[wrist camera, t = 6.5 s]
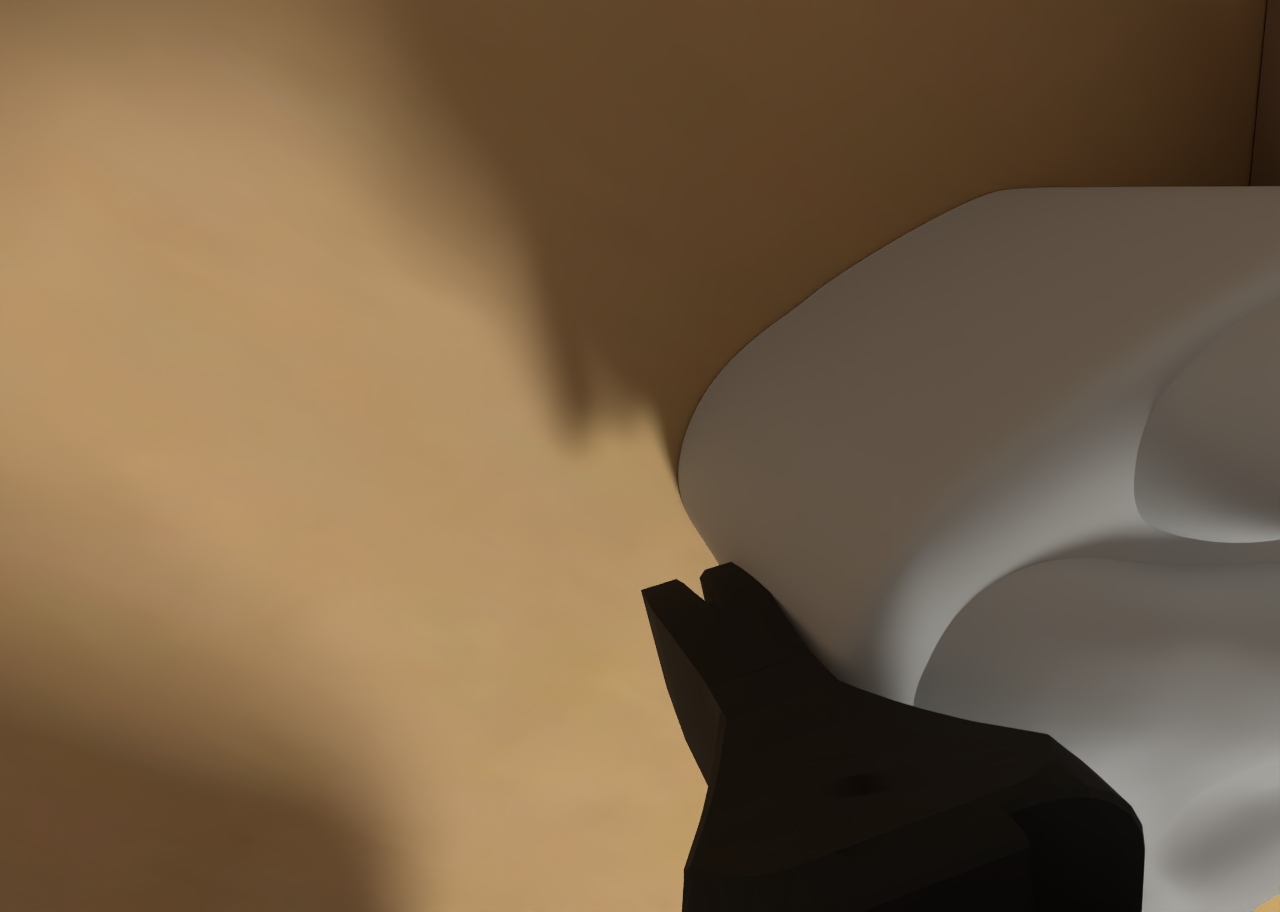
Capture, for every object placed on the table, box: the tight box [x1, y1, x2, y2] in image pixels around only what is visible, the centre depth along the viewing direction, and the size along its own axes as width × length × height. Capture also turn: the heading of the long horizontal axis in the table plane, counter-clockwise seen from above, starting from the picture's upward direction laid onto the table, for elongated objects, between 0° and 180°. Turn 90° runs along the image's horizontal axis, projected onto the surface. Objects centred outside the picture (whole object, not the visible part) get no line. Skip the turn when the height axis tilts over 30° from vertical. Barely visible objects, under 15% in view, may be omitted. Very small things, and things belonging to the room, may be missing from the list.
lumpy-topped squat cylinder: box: [678, 186, 1280, 912], centre depth 12 cm, size 10×13×9 cm
